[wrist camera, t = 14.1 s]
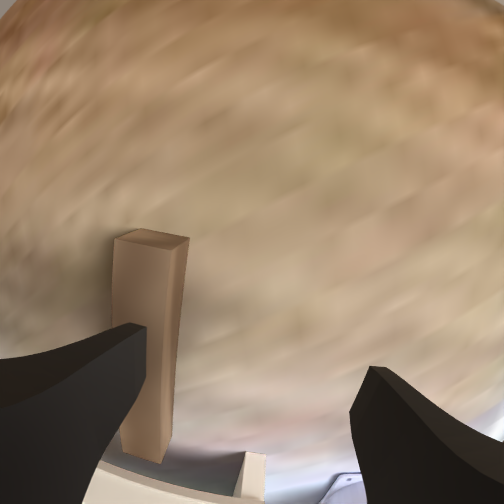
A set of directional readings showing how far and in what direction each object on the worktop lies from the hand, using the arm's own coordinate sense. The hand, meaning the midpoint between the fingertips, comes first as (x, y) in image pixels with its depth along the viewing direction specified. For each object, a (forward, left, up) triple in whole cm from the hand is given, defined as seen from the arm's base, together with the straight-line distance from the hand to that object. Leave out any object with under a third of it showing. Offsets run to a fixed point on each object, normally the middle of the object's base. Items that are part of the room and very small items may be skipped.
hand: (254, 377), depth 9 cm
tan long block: (+6, +6, -9) cm, 12 cm away
